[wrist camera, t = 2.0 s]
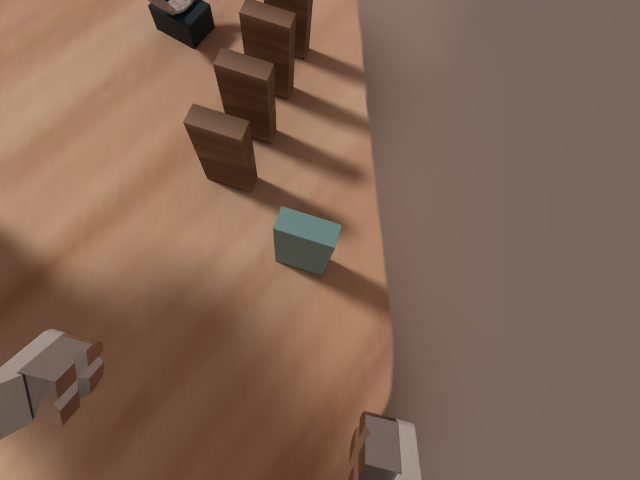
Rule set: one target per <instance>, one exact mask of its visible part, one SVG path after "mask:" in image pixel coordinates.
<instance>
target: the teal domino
mask: <svg viewBox="0 0 640 480" xmlns="http://www.w3.org/2000/svg"><path fill="white" fill-rule="evenodd" d="M341 226H342V225H341V224H337V223H334V222H331V221H328V220H325V219H321V218H318V217H315V216H312V215H309V214H305V213H302V212H299V211H296V210H293V209H289V208H286V207H283V206H281V208H280V211H279V214H278V217H277V219H276V222H275V225H274V228H273V233H274V246H275V258H276V261H277V262H280V263H284V264H287V265H290V266H293V267H296V268H300V269H303V270H306V271H309V272H312V273H316V274H319V275H322V274H323V272H324V270H325V268H326V266H327V264H328V262H329V260H330V257H331V255H332V253H333V251H334V249H335V246H336V243H337V240H338V236H339V233H340V230H341Z"/></svg>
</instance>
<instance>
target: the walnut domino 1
mask: <svg viewBox="0 0 640 480" xmlns="http://www.w3.org/2000/svg"><path fill="white" fill-rule="evenodd" d="M239 15H240V23H241V31H242V39H243V47H244V54H245V55H248V56H251V57H254V58H257V59H260V60H264V61H267V62H270V63H273V64H274V75H275V96H278V97H281V98H285V99H289V96H290V94H291V91H292V89H293V81H294V55H295V29H296V13H293V12H290V11H287V10H284V9H281V8H278V7H274V6H271V5H268V4H265V3H262V2H258V1H255V0H245V2H244V4H243V6H242V8H241V10H240V12H239Z"/></svg>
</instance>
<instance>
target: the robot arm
mask: <svg viewBox="0 0 640 480" xmlns="http://www.w3.org/2000/svg"><path fill="white" fill-rule="evenodd" d="M102 352H103V349H102V343H100V342H97V341H93V340H90V339H86V338H83V337H80V336H76V335H73V334H69V333H66V332H62V331H58V330H55V329H49V330H46V331H44V332H43V333H42V334H40V335H39V336H38V337H37V338H35V339H34V340H33V341H32V342H31V343H29V344H28V345H27V346H26V347H24V348H23V349H22V350H21V351H20V352H18V353H17V354H16V355H15V356H13V357H12V358H11V359H10V360H8V361H7V362H6V363H5V364H4V365H2V366H1V367H0V440H1V439H2V438H4V437H6V436H8V435H9V434H11V433H13V432H15V431H16V430H18V429H20V428H22V427H23V426H25V425H27V424H29V423H30V422H32V421H33V420H38V421H42V422H46V423H51V424H55V425H59V426H63V425H64V424H65V423H66V422H67V420H68V419H69V418H70V417H71V416H72V415H73V413H74V412H75V411H76V410H77V409H78V408H79V406H80V398H82V397H84V396H86V395H88V394H90V393H91V392H92V391H93V390H94V388H95V387H96V386H97V385H98V383H99V381H100V379H101V377H102V375H103V370H104V362H103V360H102V359H101V358H100V357H99V355H100V354H101V353H102ZM32 419H33V420H32ZM349 462H350V464H351V466H352V470H351V472H350V475H349V477H348V480H422V477H421V470H420V462H419V455H418V447H417V440H416V433H415V427H414V425H413V424H412V423H408V422H405V421H401V420H396V419H394V418H391V417H386V416H383V415H378V414H374V413H370V412H366V411H364V412H363V413H362V414H361V417H360V424H359V427H357V428H356V429H355V431H354V434H353V437H352V442H351V447H350V458H349Z"/></svg>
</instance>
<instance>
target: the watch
mask: <svg viewBox="0 0 640 480" xmlns="http://www.w3.org/2000/svg"><path fill="white" fill-rule="evenodd" d="M148 1H149V2H151V3H150V4H149V5H148V7H149V9H150V12H151V14H152V17H153V20H154V22H155V25H156V27H157V29H158V30H160V31H162V32H164V33H166V34H167V35H169V36H171V37H173V38H175V39H177V40H178V41H180V42H182V43H184V44H186V45H188V46H189V47H191V48H193V49H195V48H196V47H197V46H198V45H199V44H200V42H201V41H202V40H203V39H204V38H205V37H206V36H207V35H208V34H209V33H210V32H211V31H212V30H213V28H214V27H215V26H214V21H213V17H212V12H211V7H210V4H208V3H206V2H204V1H203V0H148Z"/></svg>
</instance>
